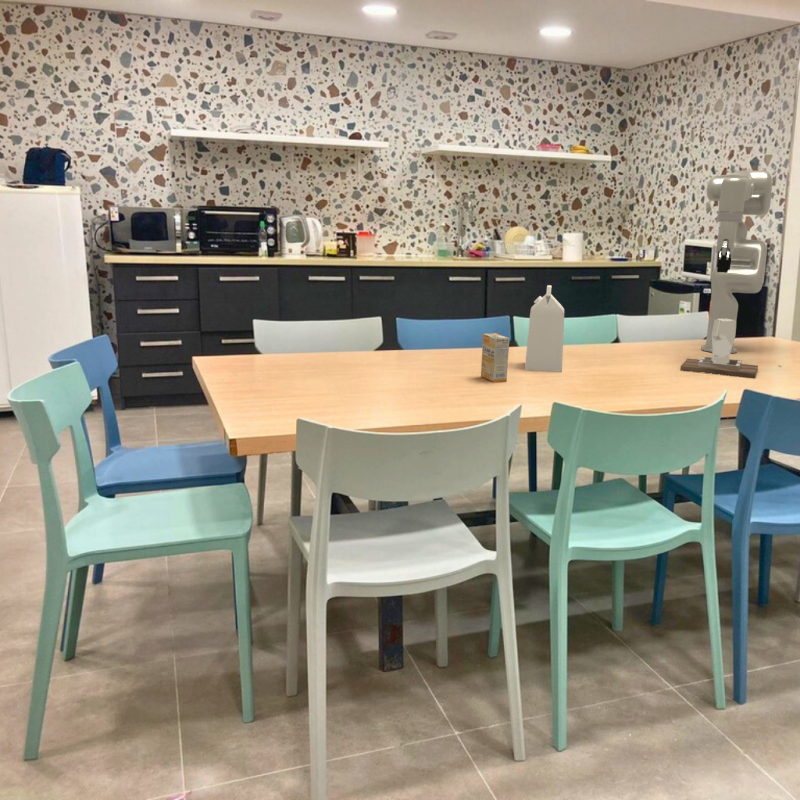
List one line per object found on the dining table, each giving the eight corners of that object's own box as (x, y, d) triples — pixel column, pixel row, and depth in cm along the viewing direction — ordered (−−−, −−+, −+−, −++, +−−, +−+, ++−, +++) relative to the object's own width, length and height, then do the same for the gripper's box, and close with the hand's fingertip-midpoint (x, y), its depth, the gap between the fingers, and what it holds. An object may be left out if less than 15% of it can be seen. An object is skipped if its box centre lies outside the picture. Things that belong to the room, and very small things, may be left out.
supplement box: (479, 376, 227) (482, 333, 224) (494, 376, 228) (496, 333, 225) (492, 382, 219) (495, 337, 216) (507, 381, 221) (510, 337, 218)
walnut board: (686, 362, 259) (687, 354, 258) (757, 370, 249) (758, 361, 248) (680, 370, 245) (681, 361, 244) (754, 378, 235) (756, 368, 235)
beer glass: (733, 368, 243) (739, 321, 239) (710, 366, 244) (716, 320, 241) (728, 364, 250) (734, 318, 246) (706, 362, 251) (711, 317, 247)
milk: (561, 372, 237) (568, 288, 231) (524, 369, 239) (530, 286, 233) (561, 365, 249) (568, 285, 243) (526, 363, 251) (531, 283, 245)
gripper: (719, 216, 254) (713, 268, 259) (715, 218, 240) (708, 272, 244) (744, 217, 251) (737, 269, 256) (740, 218, 236) (733, 274, 241)
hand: (723, 270), depth 250 cm, fingers open, 9 cm apart
